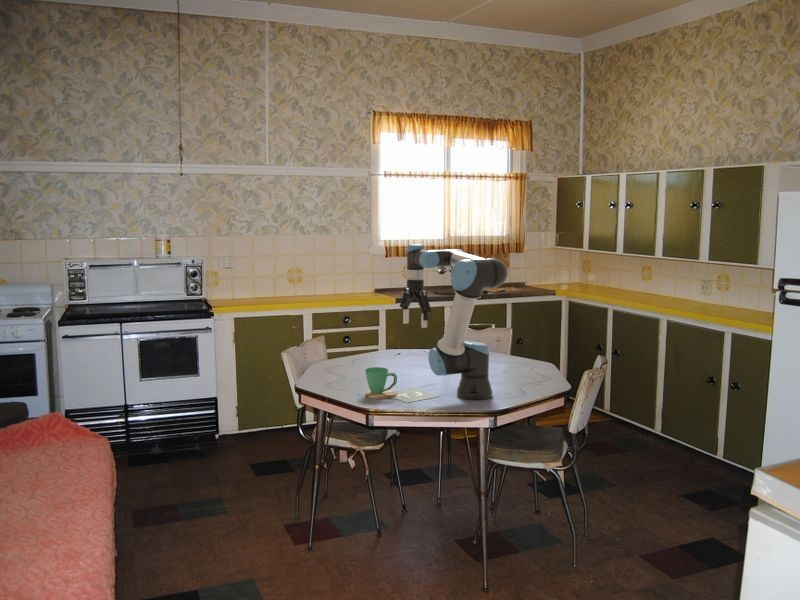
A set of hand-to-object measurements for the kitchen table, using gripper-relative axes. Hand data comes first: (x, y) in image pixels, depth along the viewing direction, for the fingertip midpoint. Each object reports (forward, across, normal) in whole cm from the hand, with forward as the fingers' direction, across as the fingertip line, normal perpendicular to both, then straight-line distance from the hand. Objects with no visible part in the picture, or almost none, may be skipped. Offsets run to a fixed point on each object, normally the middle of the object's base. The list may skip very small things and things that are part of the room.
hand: (415, 325), depth 333 cm
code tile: (+27, -16, +14) cm, 34 cm away
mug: (+26, -8, +24) cm, 36 cm away
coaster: (+27, -8, +24) cm, 37 cm away
